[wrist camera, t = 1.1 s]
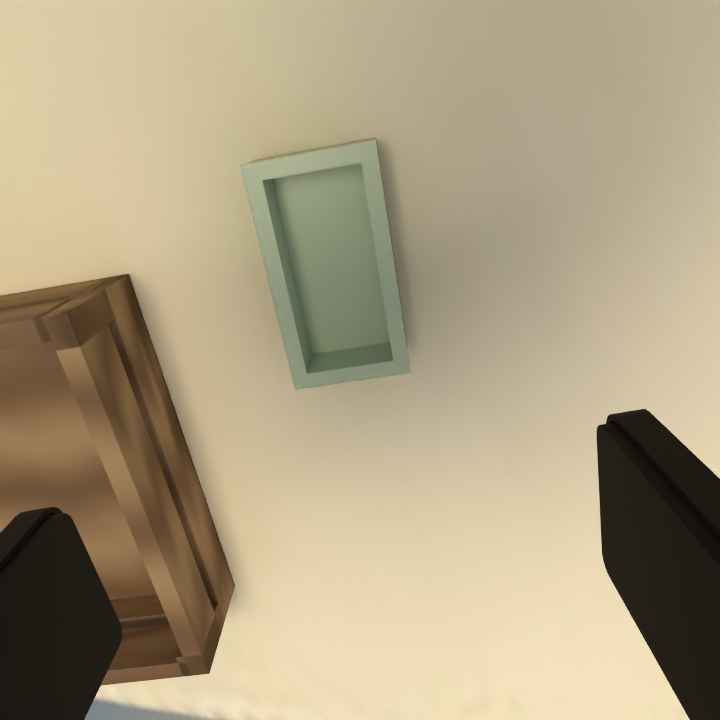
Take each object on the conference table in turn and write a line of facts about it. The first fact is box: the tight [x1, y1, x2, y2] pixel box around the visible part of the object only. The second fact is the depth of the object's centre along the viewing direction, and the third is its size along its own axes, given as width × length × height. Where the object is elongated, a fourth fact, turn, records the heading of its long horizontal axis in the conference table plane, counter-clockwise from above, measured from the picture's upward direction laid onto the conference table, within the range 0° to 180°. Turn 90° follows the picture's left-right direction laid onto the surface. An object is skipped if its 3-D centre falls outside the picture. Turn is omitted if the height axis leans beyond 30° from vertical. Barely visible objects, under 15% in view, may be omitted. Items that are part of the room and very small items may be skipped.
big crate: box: [0, 274, 235, 685], centre depth 29 cm, size 20×18×6 cm
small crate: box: [241, 138, 411, 390], centre depth 25 cm, size 10×5×3 cm, turn 10°
